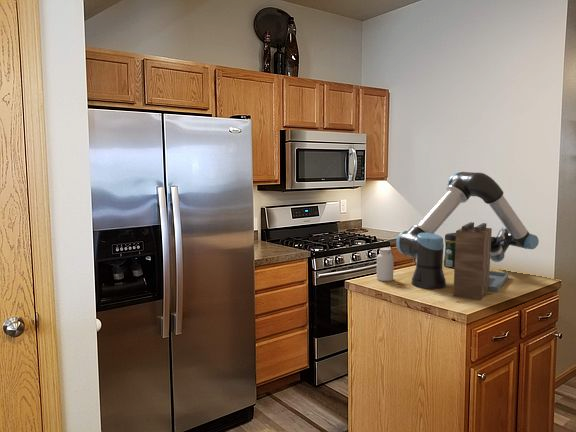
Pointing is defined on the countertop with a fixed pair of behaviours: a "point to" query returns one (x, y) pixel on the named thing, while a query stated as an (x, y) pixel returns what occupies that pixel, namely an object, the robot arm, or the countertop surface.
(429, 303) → the countertop surface
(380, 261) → the pill bottle
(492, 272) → the slate tray
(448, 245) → the coffee jar
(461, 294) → the walnut stand
